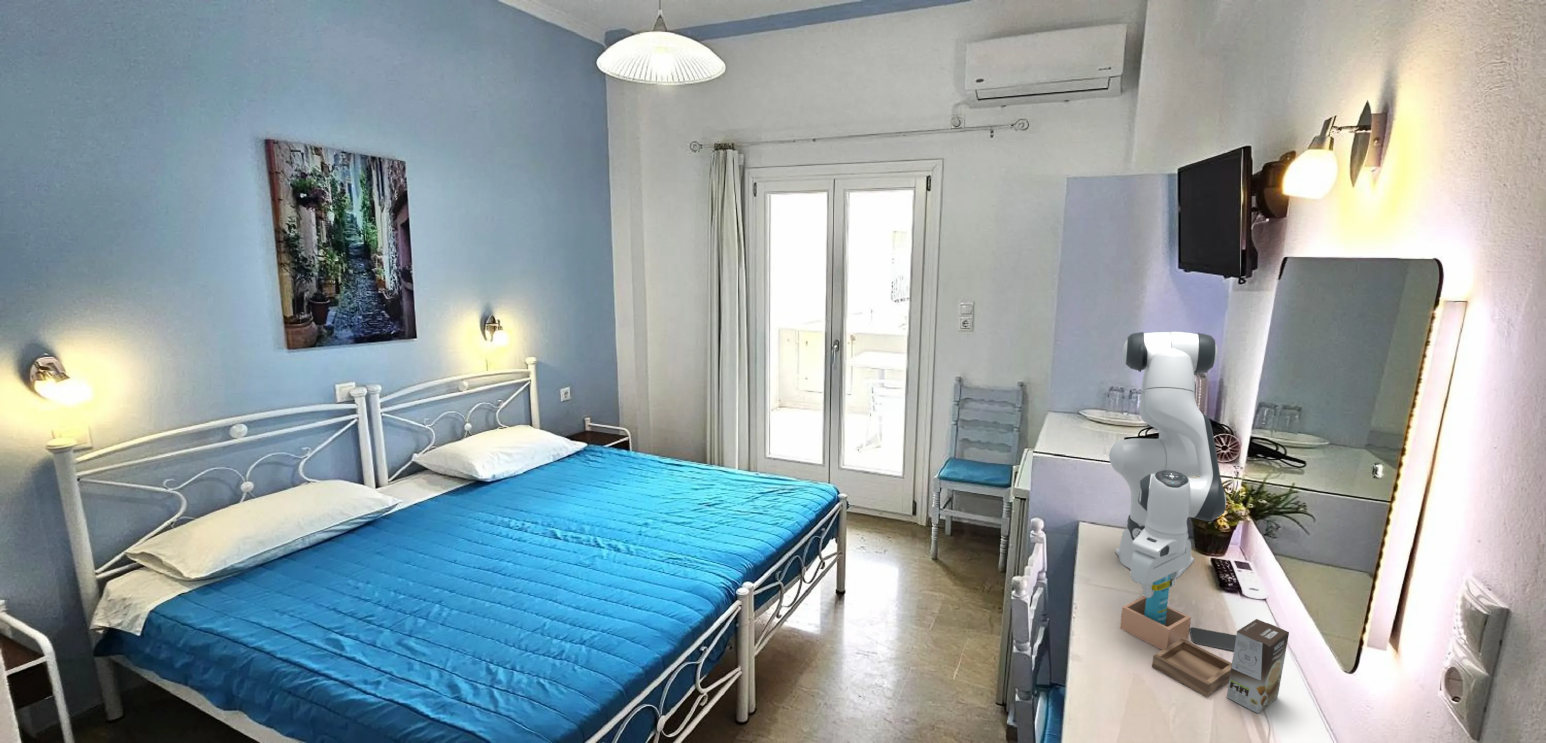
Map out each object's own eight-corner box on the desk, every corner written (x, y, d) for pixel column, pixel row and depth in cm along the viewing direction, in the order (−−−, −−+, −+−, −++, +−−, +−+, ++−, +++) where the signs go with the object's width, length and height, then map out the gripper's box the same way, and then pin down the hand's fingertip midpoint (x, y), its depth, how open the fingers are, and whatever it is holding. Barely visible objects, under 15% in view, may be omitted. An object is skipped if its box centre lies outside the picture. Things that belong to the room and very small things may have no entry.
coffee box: (1259, 715, 140) (1270, 646, 137) (1225, 697, 146) (1235, 631, 142) (1278, 697, 145) (1290, 631, 142) (1245, 681, 150) (1255, 617, 147)
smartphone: (1188, 625, 171) (1260, 638, 164) (1188, 629, 171) (1259, 642, 164) (1192, 642, 164) (1267, 656, 158) (1191, 645, 164) (1266, 660, 158)
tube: (1154, 643, 164) (1163, 571, 160) (1135, 633, 168) (1143, 563, 164) (1170, 632, 168) (1179, 562, 164) (1151, 623, 172) (1159, 554, 168)
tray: (1180, 649, 162) (1181, 638, 161) (1234, 677, 152) (1236, 665, 151) (1151, 666, 156) (1153, 655, 155) (1206, 696, 146) (1208, 684, 145)
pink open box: (1141, 616, 176) (1144, 595, 174) (1188, 638, 166) (1190, 616, 165) (1120, 628, 171) (1122, 606, 169) (1166, 652, 161) (1169, 629, 160)
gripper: (1175, 523, 170) (1169, 573, 173) (1127, 543, 160) (1122, 596, 163) (1201, 532, 165) (1194, 584, 168) (1154, 554, 155) (1148, 608, 158)
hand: (1158, 590), depth 165 cm, fingers open, 8 cm apart
